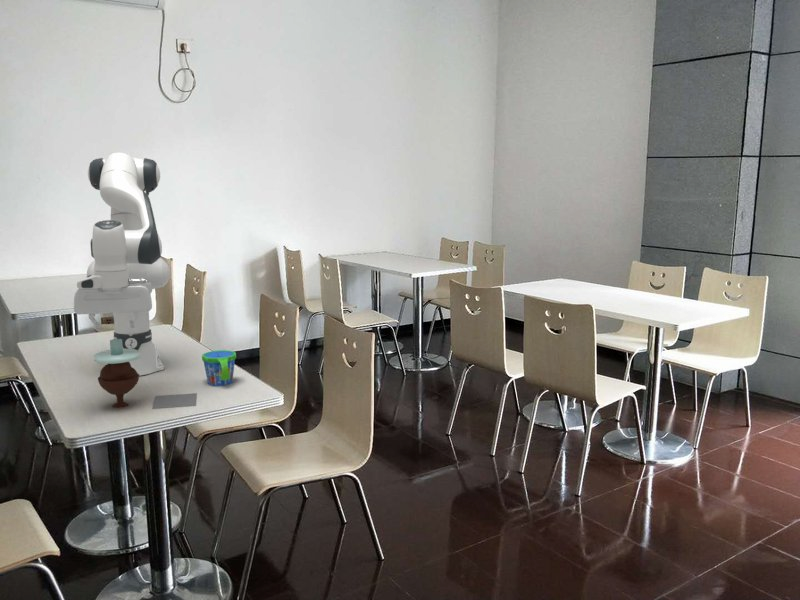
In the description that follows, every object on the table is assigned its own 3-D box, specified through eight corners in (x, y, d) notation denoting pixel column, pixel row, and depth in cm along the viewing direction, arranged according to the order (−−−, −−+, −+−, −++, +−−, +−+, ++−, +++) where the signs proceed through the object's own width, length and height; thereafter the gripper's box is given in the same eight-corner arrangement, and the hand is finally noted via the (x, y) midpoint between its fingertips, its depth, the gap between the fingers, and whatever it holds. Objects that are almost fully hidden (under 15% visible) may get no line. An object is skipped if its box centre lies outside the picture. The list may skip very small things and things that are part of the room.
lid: (97, 353, 201) (96, 336, 200) (141, 351, 204) (140, 334, 203) (90, 364, 190) (89, 346, 189) (137, 362, 193) (136, 344, 192)
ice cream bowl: (145, 401, 206) (142, 352, 203) (132, 414, 195) (129, 362, 192) (109, 401, 206) (106, 352, 203) (94, 414, 195) (90, 362, 192)
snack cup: (201, 379, 228) (199, 349, 227) (233, 376, 232) (232, 346, 230) (205, 393, 214) (204, 361, 212) (240, 389, 218) (239, 358, 216)
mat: (155, 398, 209) (155, 395, 209) (197, 395, 212) (196, 393, 212) (152, 411, 197) (151, 408, 197) (196, 408, 200) (195, 405, 200)
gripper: (152, 276, 199) (155, 323, 201) (74, 278, 194) (78, 327, 196) (150, 280, 193) (153, 328, 195) (70, 282, 188) (74, 332, 190)
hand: (115, 328), depth 196 cm, fingers open, 8 cm apart
